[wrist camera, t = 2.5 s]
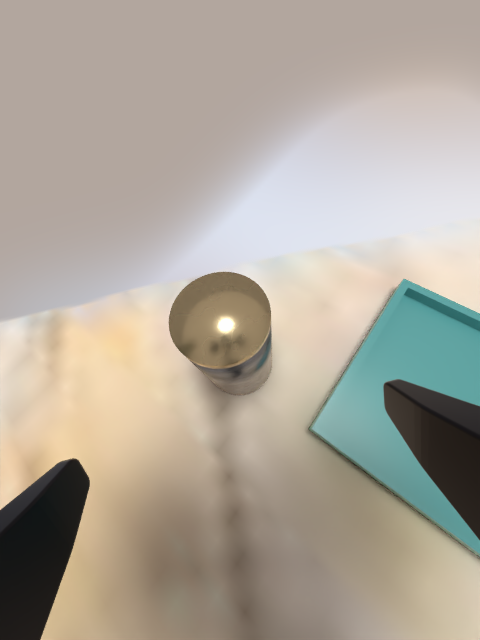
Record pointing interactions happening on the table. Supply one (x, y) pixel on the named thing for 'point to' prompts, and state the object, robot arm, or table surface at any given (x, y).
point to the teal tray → (415, 367)
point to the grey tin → (225, 330)
